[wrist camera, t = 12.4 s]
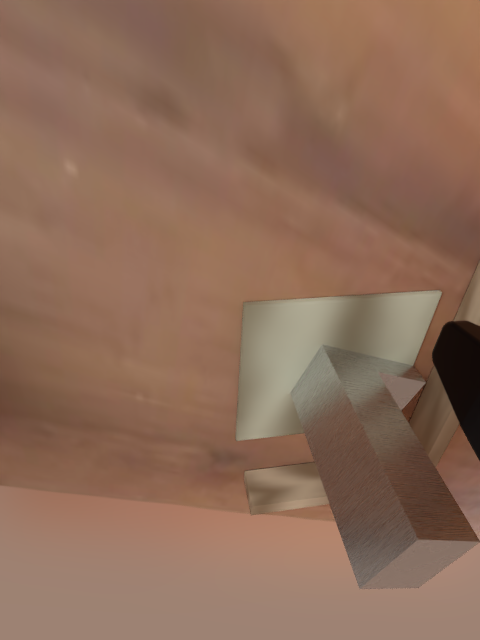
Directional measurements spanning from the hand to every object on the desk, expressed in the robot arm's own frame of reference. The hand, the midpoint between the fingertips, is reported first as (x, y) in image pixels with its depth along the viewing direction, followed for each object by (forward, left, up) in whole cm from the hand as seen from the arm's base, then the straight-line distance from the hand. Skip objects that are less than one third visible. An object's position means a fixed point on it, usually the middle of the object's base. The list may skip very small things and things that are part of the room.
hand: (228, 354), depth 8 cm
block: (+11, -15, -13) cm, 22 cm away
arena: (+11, -14, -13) cm, 22 cm away
